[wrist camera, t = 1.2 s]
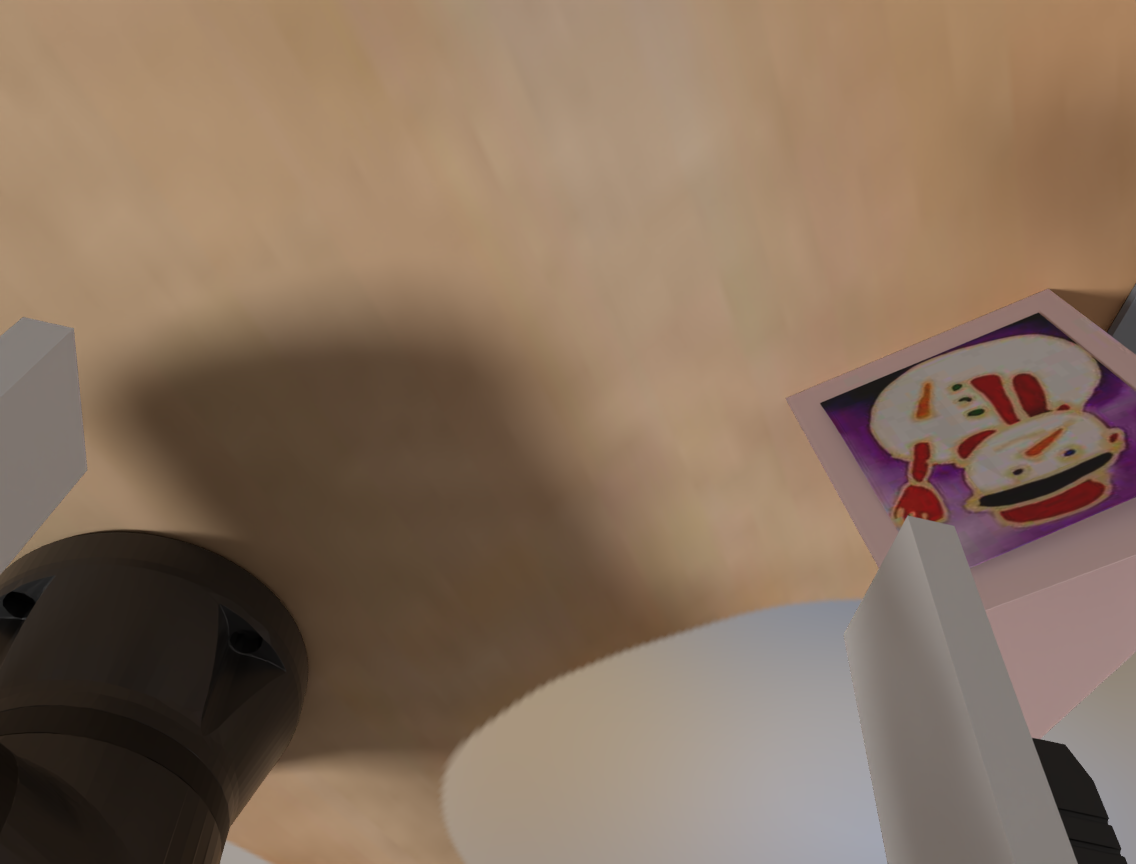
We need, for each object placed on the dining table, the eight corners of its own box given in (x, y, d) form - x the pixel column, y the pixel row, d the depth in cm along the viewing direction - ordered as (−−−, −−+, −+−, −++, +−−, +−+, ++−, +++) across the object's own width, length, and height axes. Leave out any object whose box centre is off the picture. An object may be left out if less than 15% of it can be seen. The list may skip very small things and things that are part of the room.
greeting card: (1044, 270, 40) (1312, 465, 27) (1075, 414, 43) (1324, 647, 30) (779, 382, 41) (909, 615, 28) (829, 511, 45) (965, 771, 32)
